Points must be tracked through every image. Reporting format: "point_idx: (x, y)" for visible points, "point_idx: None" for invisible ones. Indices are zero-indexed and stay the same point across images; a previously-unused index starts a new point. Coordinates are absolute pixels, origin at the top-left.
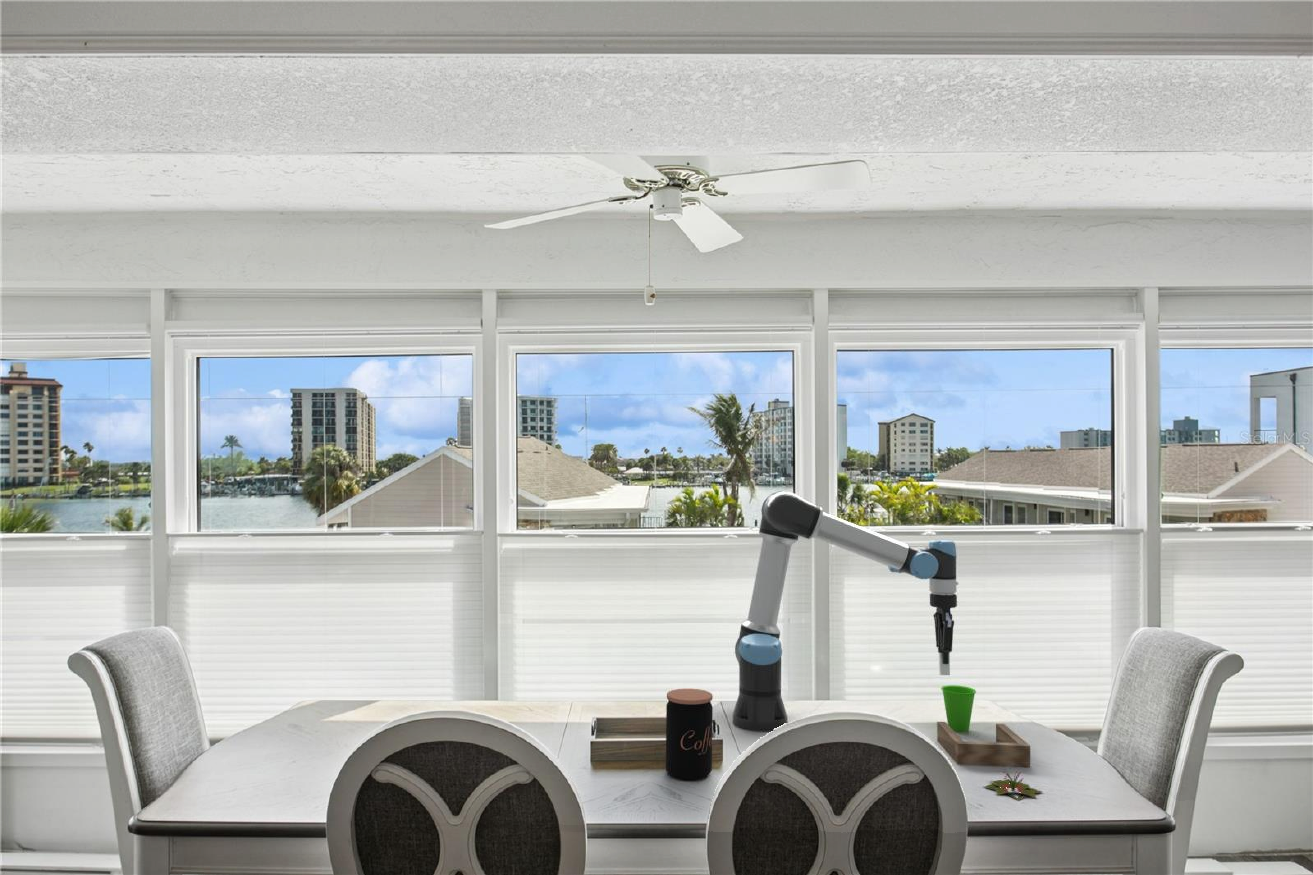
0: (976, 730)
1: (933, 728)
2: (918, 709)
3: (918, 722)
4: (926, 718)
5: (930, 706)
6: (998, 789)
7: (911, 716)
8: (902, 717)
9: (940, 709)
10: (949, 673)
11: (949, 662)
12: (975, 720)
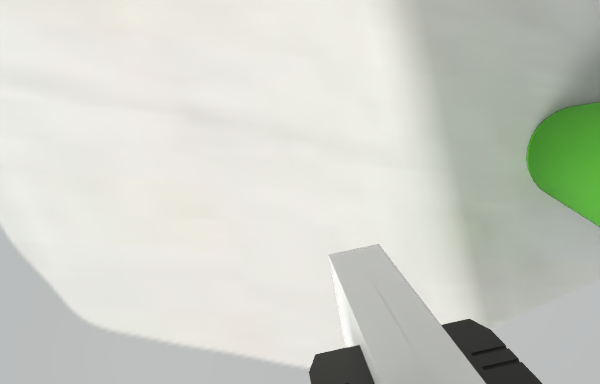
0: (557, 66)
1: (555, 257)
2: (253, 313)
3: (476, 314)
4: None
5: (170, 257)
6: None
7: None
8: None
9: (214, 211)
10: (385, 254)
11: (427, 311)
12: (381, 46)
